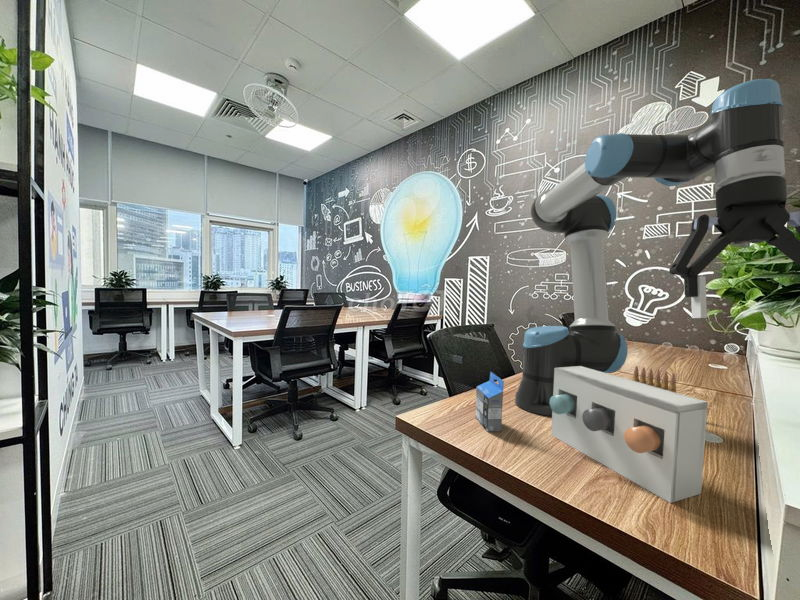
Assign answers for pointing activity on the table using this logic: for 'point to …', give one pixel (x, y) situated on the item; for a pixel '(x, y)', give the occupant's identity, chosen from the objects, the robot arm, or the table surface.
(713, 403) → the table surface
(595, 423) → the charcoal button
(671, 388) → the ammunition clip
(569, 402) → the teal button
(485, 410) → the label tape cartridge
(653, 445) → the terracotta button
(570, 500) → the table surface
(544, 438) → the table surface
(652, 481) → the console
